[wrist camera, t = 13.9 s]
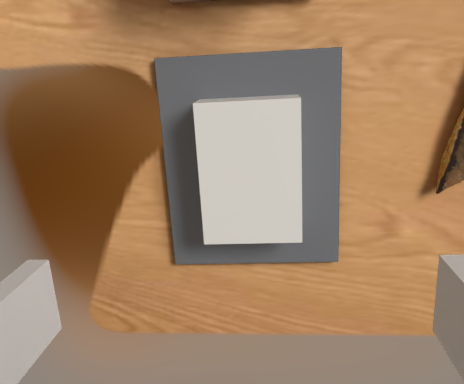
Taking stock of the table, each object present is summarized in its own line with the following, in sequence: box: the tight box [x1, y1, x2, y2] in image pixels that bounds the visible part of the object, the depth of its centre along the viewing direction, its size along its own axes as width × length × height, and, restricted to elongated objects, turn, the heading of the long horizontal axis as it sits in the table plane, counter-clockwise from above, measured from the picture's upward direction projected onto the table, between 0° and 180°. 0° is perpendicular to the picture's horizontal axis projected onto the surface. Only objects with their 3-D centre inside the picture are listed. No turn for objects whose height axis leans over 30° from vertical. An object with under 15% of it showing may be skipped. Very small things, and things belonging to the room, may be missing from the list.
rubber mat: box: [154, 47, 342, 264], centre depth 32 cm, size 16×13×1 cm
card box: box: [193, 94, 302, 244], centre depth 30 cm, size 10×7×3 cm
